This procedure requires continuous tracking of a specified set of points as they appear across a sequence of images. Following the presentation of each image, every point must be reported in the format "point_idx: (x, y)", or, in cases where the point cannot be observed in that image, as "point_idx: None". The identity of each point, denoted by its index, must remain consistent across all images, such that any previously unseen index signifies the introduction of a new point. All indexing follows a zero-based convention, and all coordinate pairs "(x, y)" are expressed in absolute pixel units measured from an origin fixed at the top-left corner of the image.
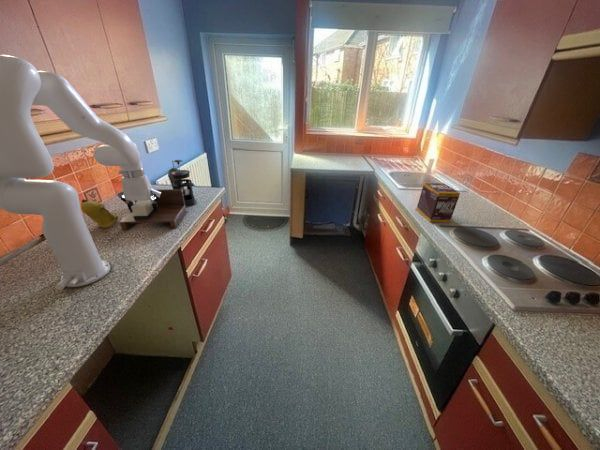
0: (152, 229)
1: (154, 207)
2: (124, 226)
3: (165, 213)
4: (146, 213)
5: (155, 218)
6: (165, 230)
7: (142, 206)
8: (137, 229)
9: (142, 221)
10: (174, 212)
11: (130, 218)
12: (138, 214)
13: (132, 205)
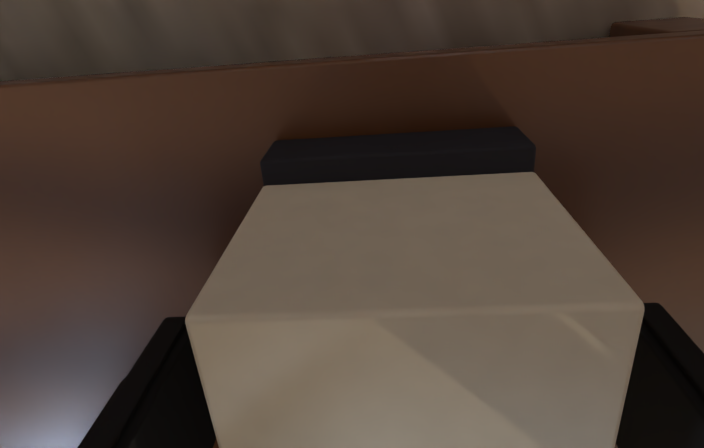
0: (237, 42)
1: (126, 386)
2: (665, 25)
3: (113, 341)
4: (255, 206)
5: (160, 176)
6: (32, 8)
7: (252, 312)
8: (458, 42)
9: (337, 61)
10: (4, 366)
11: (613, 182)
12: (434, 188)
13: (620, 382)
